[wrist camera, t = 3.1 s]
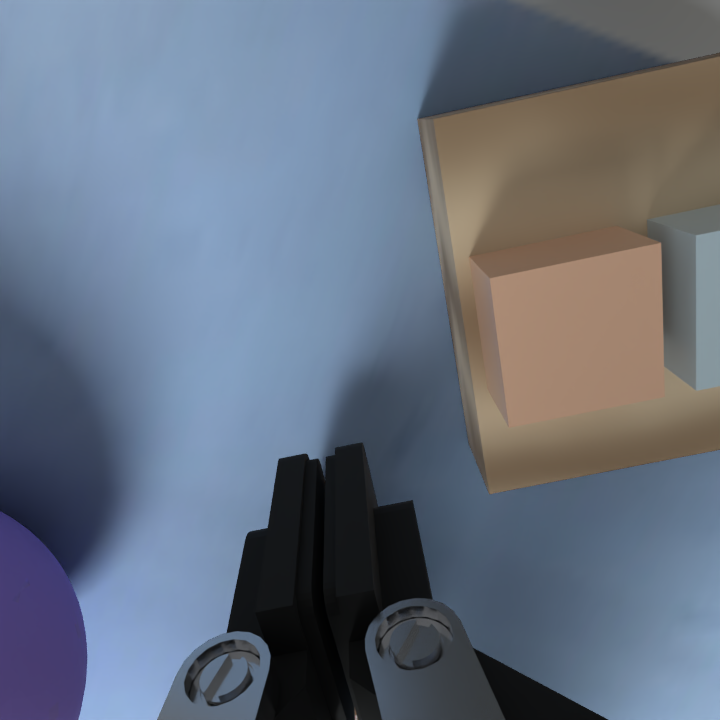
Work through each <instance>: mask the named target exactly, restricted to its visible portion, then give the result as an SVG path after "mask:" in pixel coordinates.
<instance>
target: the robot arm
mask: <svg viewBox="0 0 720 720" xmlns="http://www.w3.org/2000/svg"><path fill="white" fill-rule="evenodd" d="M355 711H356V714H357V717H358V720H608V719H606V718H604V717H602V716H600V715H598V714H596V713H594V712H593V711H591V710H589V709H587V708H585V707H583V706H581V705H579V704H578V703H576V702H574V701H572V700H570V699H568V698H566V697H564V696H563V695H561V694H559V693H557V692H555V691H553V690H551V689H549V688H548V687H546V686H544V685H542V684H540V683H538V682H536V681H534V680H532V679H531V678H529V677H527V676H525V675H523V674H521V673H519V672H517V671H516V670H514V669H512V668H510V667H508V666H506V665H504V664H502V663H501V662H499V661H497V660H495V659H493V658H491V657H489V656H487V655H486V654H484V653H482V652H480V651H478V650H476V649H474V648H473V647H472V645H471V643H470V640H469V638H468V636H467V634H466V632H465V629H464V627H463V625H462V623H461V621H460V619H459V618H458V616H457V615H456V614H455V612H454V611H453V610H452V609H450V608H449V607H447V606H446V605H445V604H443V603H440V602H437V601H434V600H433V599H432V594H431V589H430V584H429V579H428V574H427V569H426V564H425V559H424V554H423V549H422V544H421V539H420V534H419V529H418V524H417V519H416V514H415V510H414V505H413V500H411V501H406V502H401V503H396V504H391V505H386V506H380V507H378V505H377V501H376V496H375V492H374V488H373V483H372V479H371V475H370V470H369V466H368V462H367V458H366V453H365V449H364V445H363V443H356V444H351V445H346V446H341V447H336V448H335V455H333V456H328V457H326V475H325V479H324V475H323V471H322V468H321V464H320V461H319V459H313V460H309V457H308V455H307V454H301V455H296V456H291V457H286V458H281V459H279V461H278V466H277V472H276V479H275V485H274V492H273V498H272V505H271V511H270V518H269V524H268V528H266V529H261V530H256V531H251V532H249V533H248V534H247V536H246V539H245V544H244V549H243V554H242V559H241V564H240V569H239V574H238V579H237V584H236V589H235V594H234V599H233V604H232V609H231V614H230V619H229V624H228V629H227V633H225V634H222V635H219V636H217V637H215V638H212V639H210V640H208V641H207V642H205V643H204V644H202V645H201V646H199V647H198V648H197V649H195V650H194V651H193V652H192V654H191V655H190V656H189V657H188V658H187V659H186V660H185V661H184V663H183V664H182V666H181V668H180V669H179V671H178V673H177V675H176V677H175V680H174V682H173V684H172V686H171V689H170V691H169V693H168V696H167V698H166V700H165V703H164V705H163V707H162V710H161V712H160V714H159V717H158V719H157V720H355Z"/></svg>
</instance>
